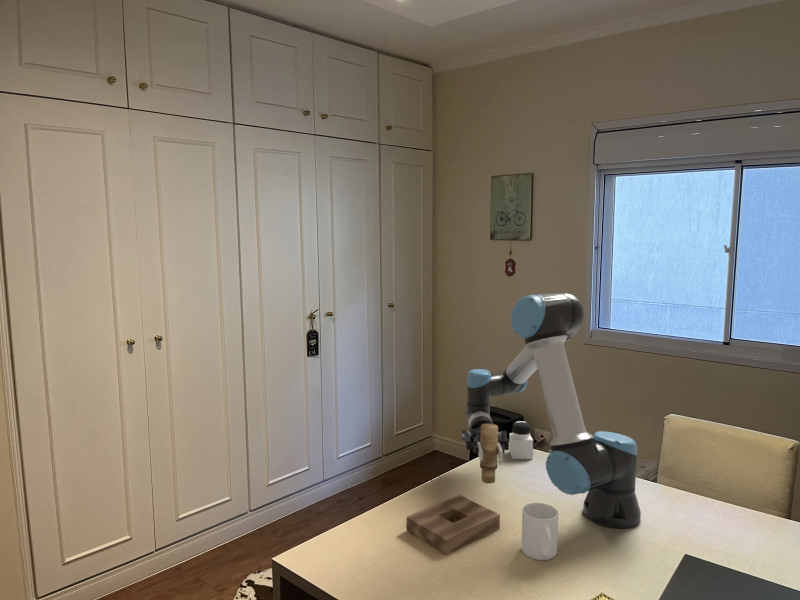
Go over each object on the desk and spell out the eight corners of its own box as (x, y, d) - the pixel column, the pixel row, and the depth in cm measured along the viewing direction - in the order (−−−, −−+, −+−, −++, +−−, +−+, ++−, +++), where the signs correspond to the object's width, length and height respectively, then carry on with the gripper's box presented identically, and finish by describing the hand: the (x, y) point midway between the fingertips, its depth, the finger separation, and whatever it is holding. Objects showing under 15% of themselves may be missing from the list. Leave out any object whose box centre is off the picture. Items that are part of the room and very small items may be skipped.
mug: (530, 570, 137) (532, 527, 136) (517, 543, 149) (518, 503, 147) (566, 569, 137) (568, 526, 136) (550, 542, 149) (551, 502, 148)
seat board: (499, 528, 156) (499, 514, 155) (445, 555, 143) (445, 539, 143) (459, 508, 167) (459, 495, 167) (406, 530, 155) (406, 516, 154)
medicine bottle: (532, 459, 203) (533, 426, 201) (512, 459, 203) (513, 426, 202) (528, 451, 210) (529, 419, 208) (508, 451, 210) (509, 419, 209)
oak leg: (500, 481, 165) (501, 426, 164) (488, 485, 162) (489, 430, 160) (487, 475, 169) (488, 422, 167) (476, 480, 166) (476, 425, 164)
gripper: (509, 439, 183) (523, 469, 160) (452, 438, 183) (458, 468, 160) (510, 415, 182) (524, 442, 159) (453, 415, 182) (459, 442, 159)
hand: (491, 455), depth 159 cm, fingers closed on oak leg, 5 cm apart
